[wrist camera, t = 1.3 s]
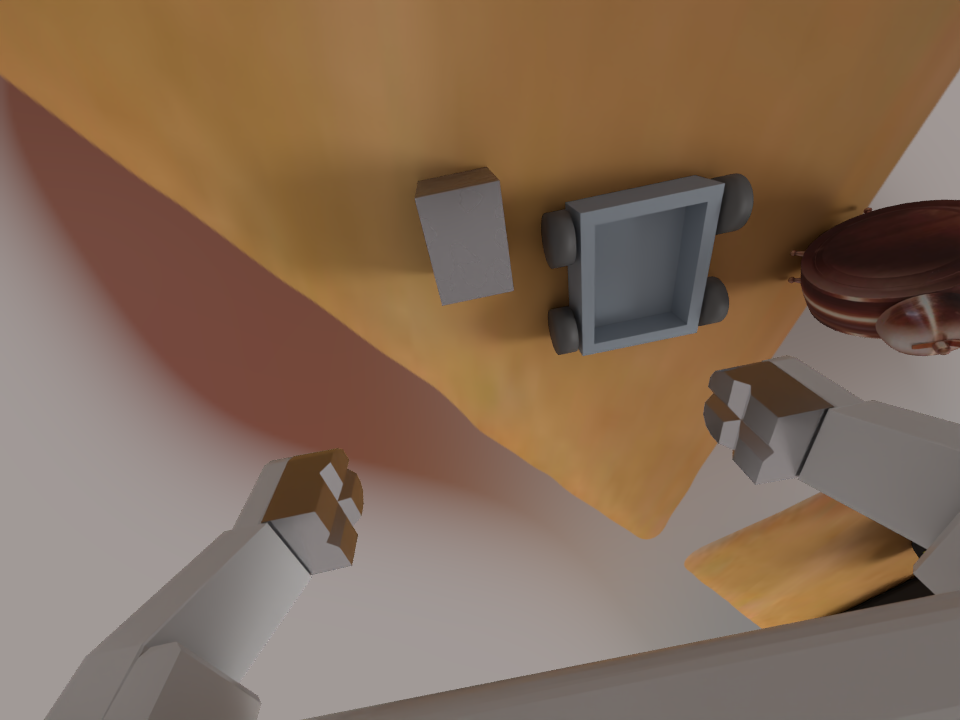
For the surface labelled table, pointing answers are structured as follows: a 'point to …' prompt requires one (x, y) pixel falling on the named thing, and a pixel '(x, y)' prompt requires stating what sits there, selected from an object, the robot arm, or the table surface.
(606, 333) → the chassis
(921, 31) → the table surface
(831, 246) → the alarm clock
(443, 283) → the grey rectangular cuboid
